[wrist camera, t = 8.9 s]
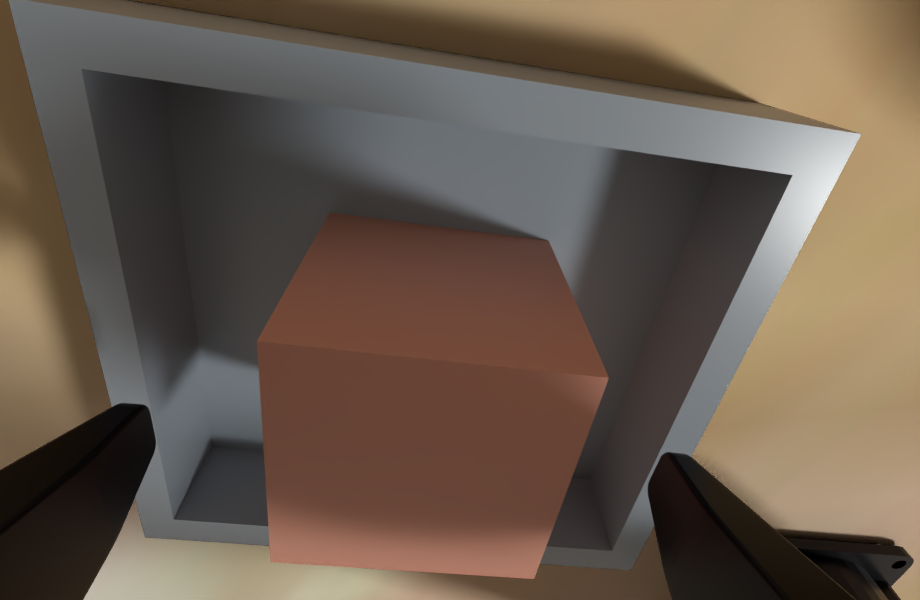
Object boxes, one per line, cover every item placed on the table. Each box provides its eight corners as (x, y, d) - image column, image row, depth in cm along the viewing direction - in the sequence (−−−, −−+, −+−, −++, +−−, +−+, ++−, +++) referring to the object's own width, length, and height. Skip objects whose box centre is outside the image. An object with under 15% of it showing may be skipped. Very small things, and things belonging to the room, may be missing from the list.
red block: (549, 240, 12) (608, 377, 7) (507, 404, 14) (534, 579, 10) (329, 212, 11) (256, 341, 7) (325, 386, 14) (271, 561, 9)
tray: (761, 103, 11) (860, 134, 8) (602, 483, 17) (630, 570, 14) (125, 0, 10) (7, -3, 7) (195, 449, 16) (144, 537, 13)
